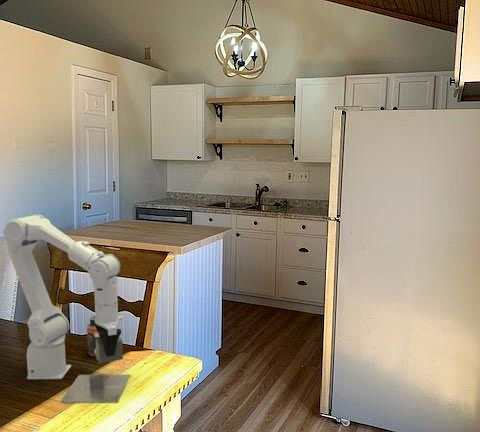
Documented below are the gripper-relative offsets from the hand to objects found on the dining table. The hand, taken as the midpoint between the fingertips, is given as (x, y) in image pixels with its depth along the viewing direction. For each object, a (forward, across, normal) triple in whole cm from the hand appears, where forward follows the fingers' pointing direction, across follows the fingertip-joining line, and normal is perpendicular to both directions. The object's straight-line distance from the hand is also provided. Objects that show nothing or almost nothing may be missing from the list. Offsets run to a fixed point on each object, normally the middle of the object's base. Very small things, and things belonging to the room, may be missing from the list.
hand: (108, 352), depth 130 cm
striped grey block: (+2, 0, 0) cm, 2 cm away
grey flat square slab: (+8, -2, +4) cm, 9 cm away
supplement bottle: (+9, +20, 0) cm, 22 cm away
